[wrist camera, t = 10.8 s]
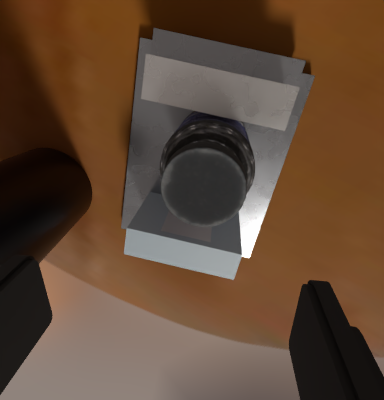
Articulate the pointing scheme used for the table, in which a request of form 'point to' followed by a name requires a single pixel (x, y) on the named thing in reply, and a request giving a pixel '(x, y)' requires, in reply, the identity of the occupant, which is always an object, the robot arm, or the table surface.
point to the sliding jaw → (183, 240)
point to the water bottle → (39, 201)
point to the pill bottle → (206, 169)
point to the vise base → (172, 117)
